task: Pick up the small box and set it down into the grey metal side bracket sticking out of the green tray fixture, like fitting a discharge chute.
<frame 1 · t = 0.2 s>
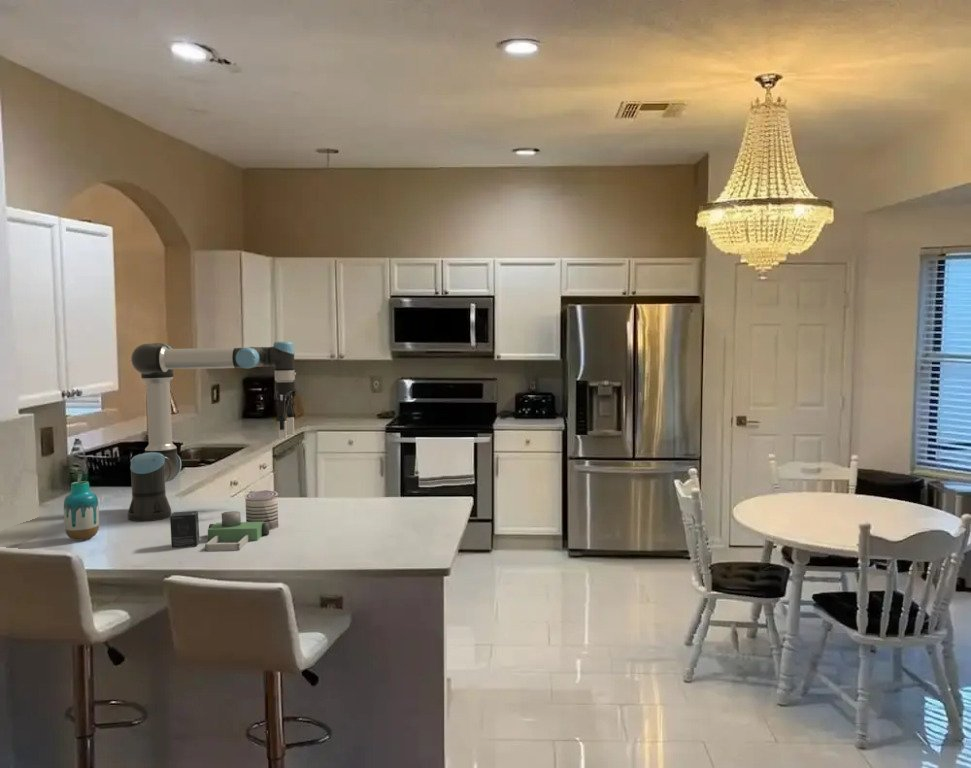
hand: (286, 436, 325), 28 cm above the countertop, fingers open, 13 cm apart
can: (262, 528, 293), on the countertop
box: (185, 545, 270), on the countertop
green tray fixture: (237, 537, 279), on the countertop
vase: (82, 539, 280), on the countertop
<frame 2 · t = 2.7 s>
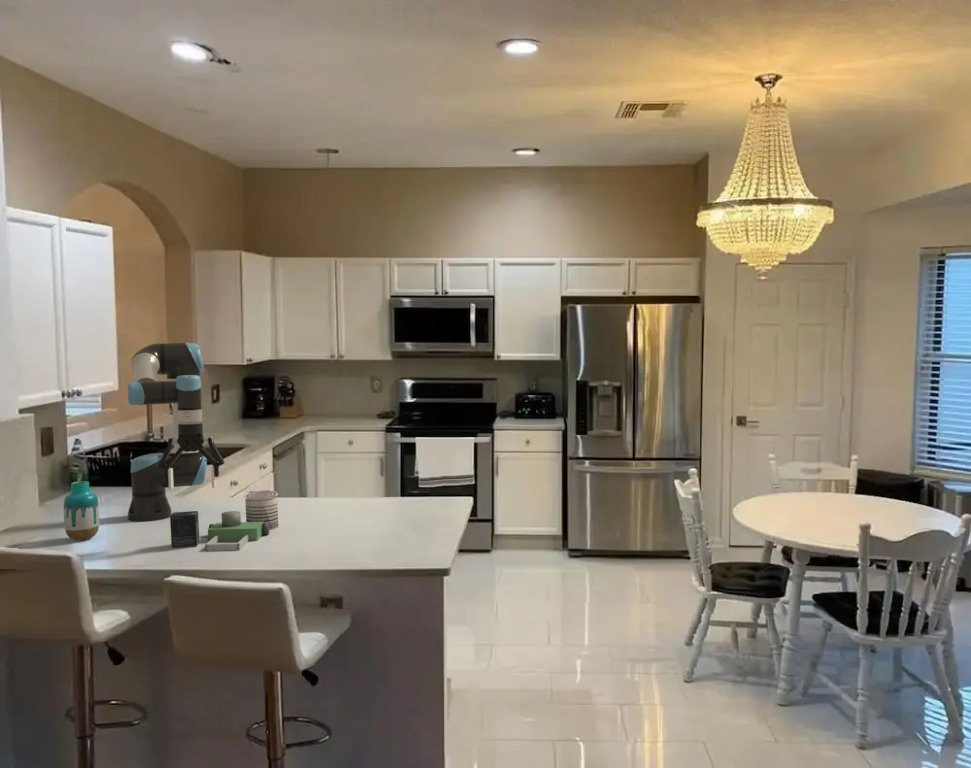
hand: (192, 487, 272), 18 cm above the countertop, fingers open, 13 cm apart
nothing on the countertop moved.
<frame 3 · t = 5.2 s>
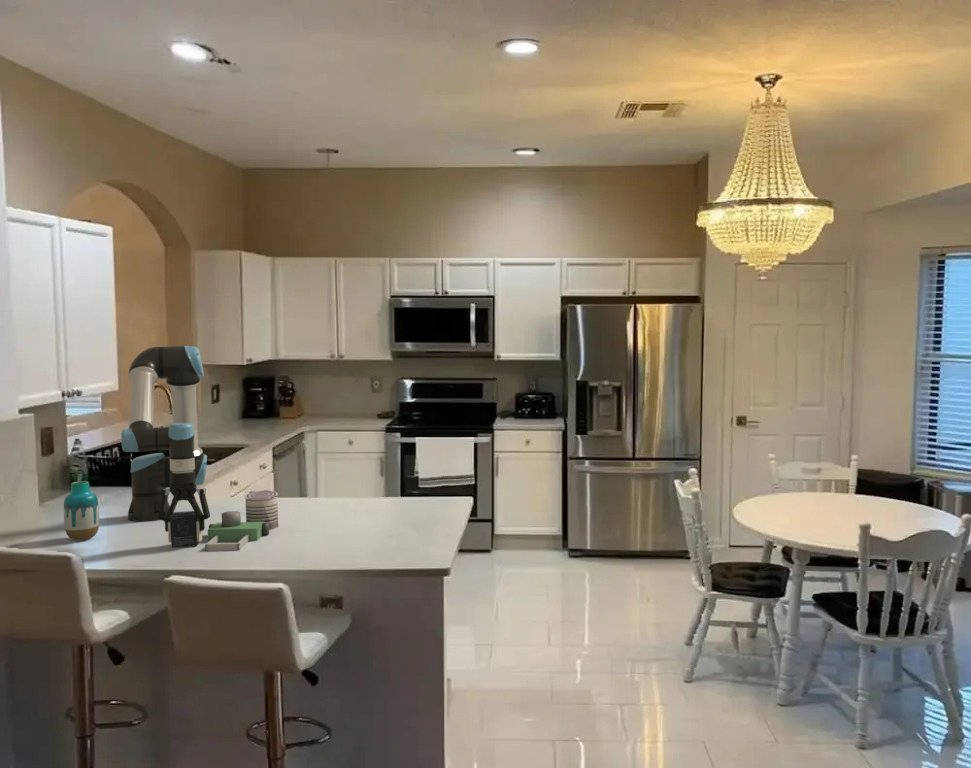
hand: (185, 540, 270), 1 cm above the countertop, fingers closed on box, 8 cm apart
box: (185, 545, 270), on the countertop, touching gripper
everything else where it was.
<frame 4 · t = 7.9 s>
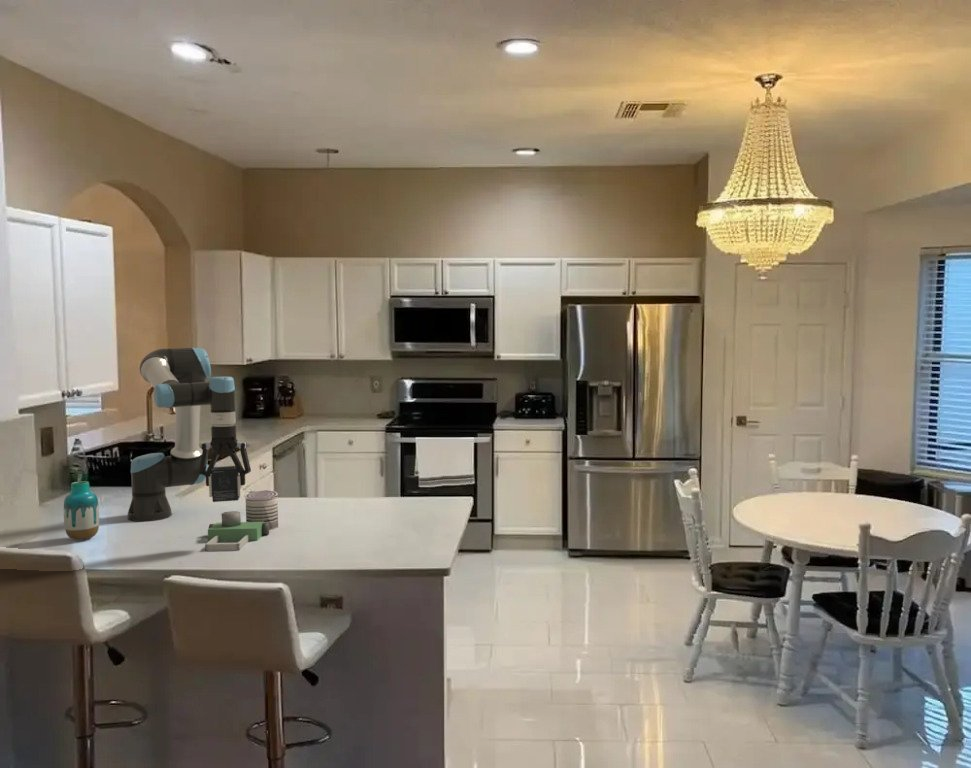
hand: (226, 495, 267), 16 cm above the countertop, fingers closed on box, 8 cm apart
box: (226, 500, 268), point 15 cm above the countertop, touching gripper
everything else where it was.
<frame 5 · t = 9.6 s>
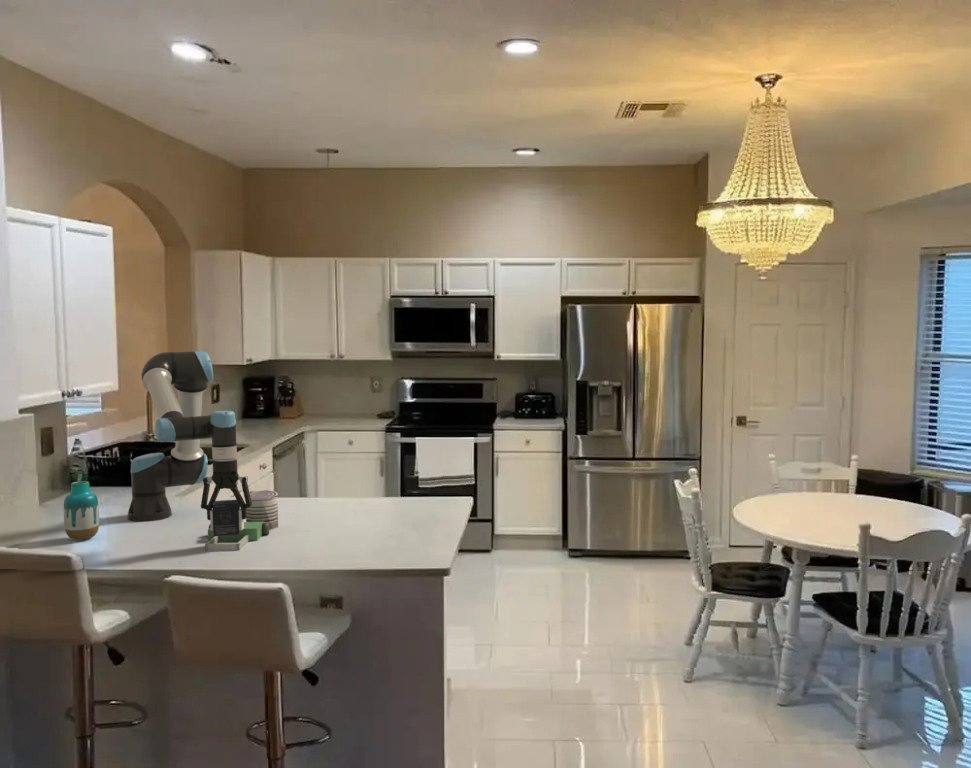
hand: (227, 529, 268), 5 cm above the countertop, fingers closed on box, 8 cm apart
box: (227, 534, 268), point 4 cm above the countertop, touching gripper
everything else where it was.
when the fingers open (4 cm above the countertop, at t = 10.8 s): box drops 2 cm, resting in green tray fixture.
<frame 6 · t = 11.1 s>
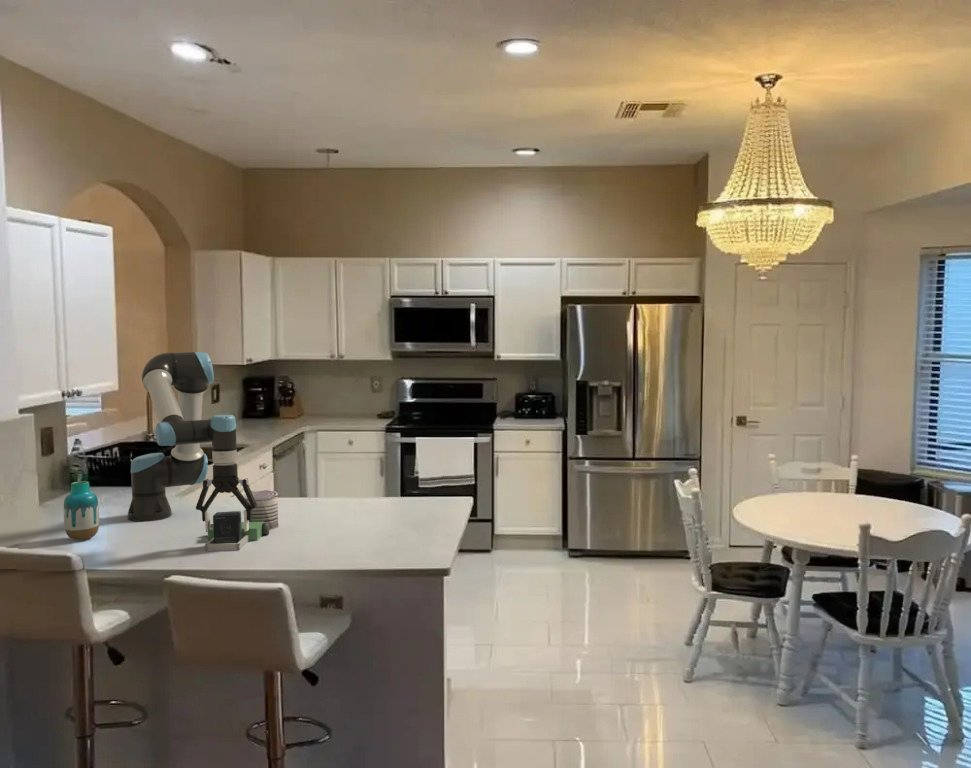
hand: (227, 530, 268), 5 cm above the countertop, fingers open, 11 cm apart
box: (228, 546, 268), resting in green tray fixture
everything else where it was.
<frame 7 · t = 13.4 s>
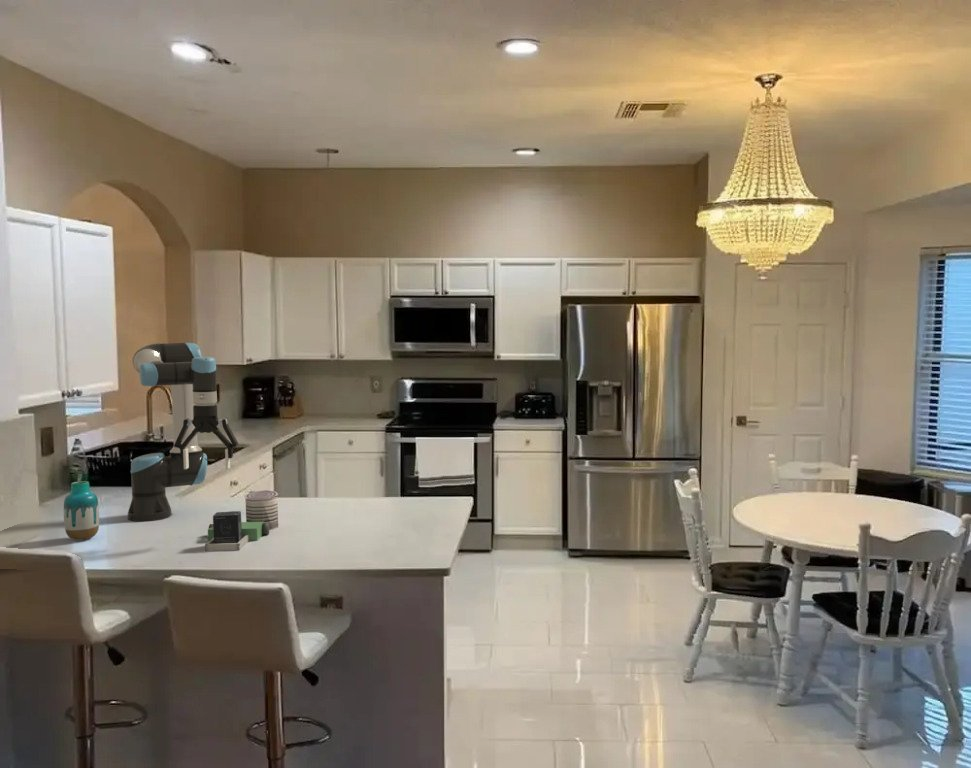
hand: (207, 468, 276), 24 cm above the countertop, fingers open, 13 cm apart
nothing on the countertop moved.
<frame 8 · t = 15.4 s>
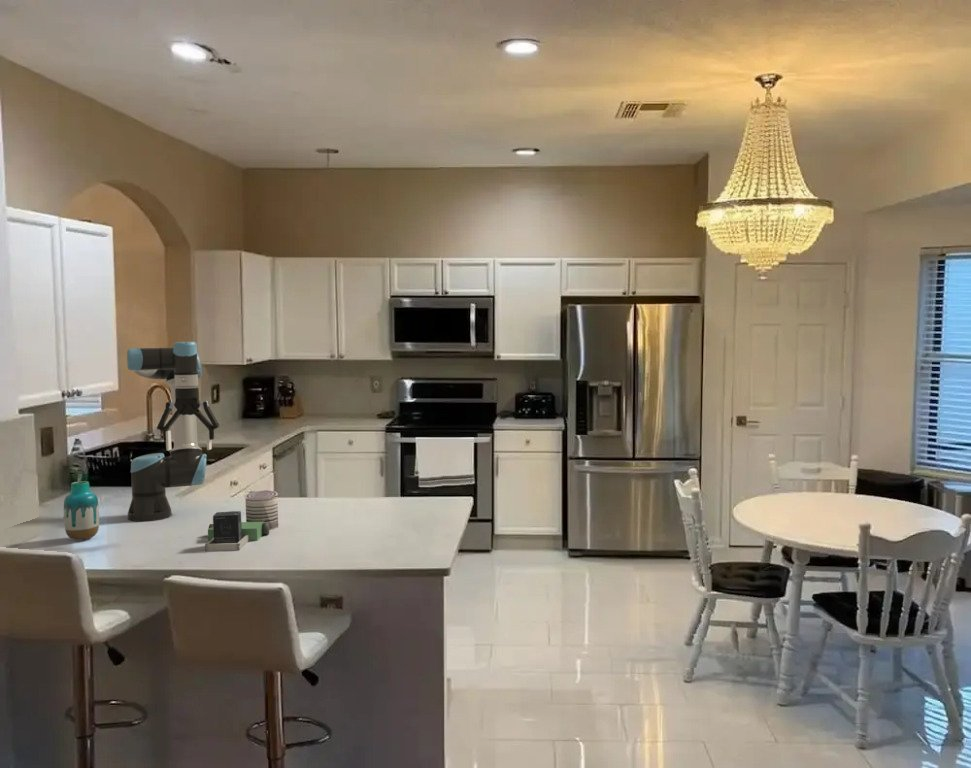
hand: (189, 449, 284), 29 cm above the countertop, fingers open, 13 cm apart
nothing on the countertop moved.
at the end: box inside the target area on the green tray fixture (0.2 cm from its centre), point 0.0 cm above the green tray fixture's base; box tilted 0°; the gripper is holding nothing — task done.
